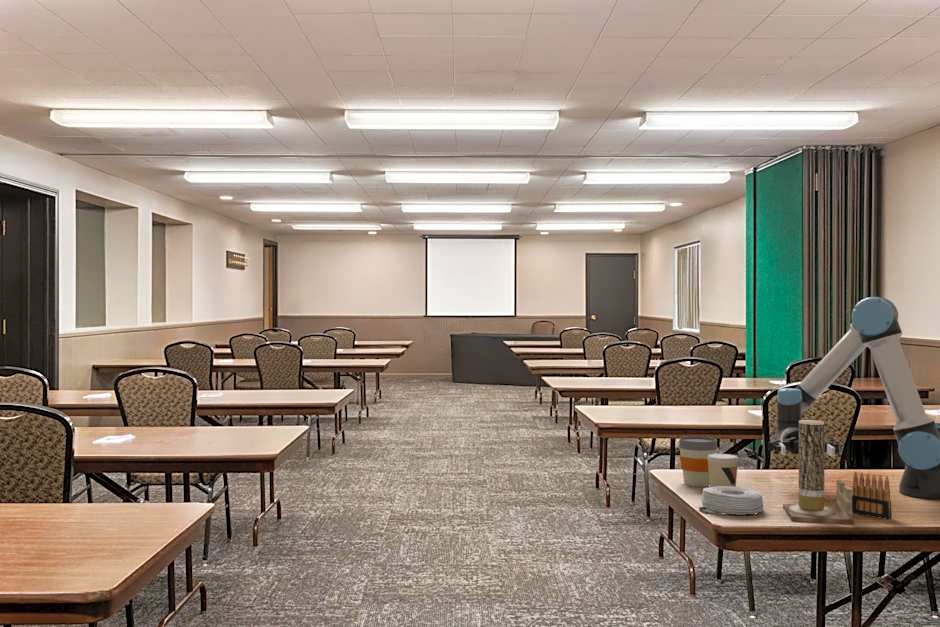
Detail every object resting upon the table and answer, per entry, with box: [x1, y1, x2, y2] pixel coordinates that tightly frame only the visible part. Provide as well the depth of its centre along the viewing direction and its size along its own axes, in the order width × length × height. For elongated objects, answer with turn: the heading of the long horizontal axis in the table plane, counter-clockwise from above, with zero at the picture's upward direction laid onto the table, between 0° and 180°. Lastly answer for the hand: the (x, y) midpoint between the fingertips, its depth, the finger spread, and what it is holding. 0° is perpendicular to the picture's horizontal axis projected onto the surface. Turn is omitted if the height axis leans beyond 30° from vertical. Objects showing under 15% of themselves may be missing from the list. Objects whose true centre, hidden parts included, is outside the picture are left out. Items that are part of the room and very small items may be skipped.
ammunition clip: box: [852, 471, 893, 520], centre depth 235 cm, size 11×2×12 cm, turn 40°
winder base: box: [782, 479, 855, 525], centre depth 235 cm, size 16×16×9 cm
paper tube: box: [798, 419, 825, 511], centre depth 236 cm, size 7×7×25 cm
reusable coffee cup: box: [678, 436, 718, 487], centre depth 279 cm, size 13×13×15 cm
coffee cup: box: [707, 453, 739, 488], centre depth 264 cm, size 9×9×12 cm
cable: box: [698, 486, 764, 516], centre depth 243 cm, size 18×18×6 cm
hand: (808, 451), depth 242 cm, fingers open, 13 cm apart
